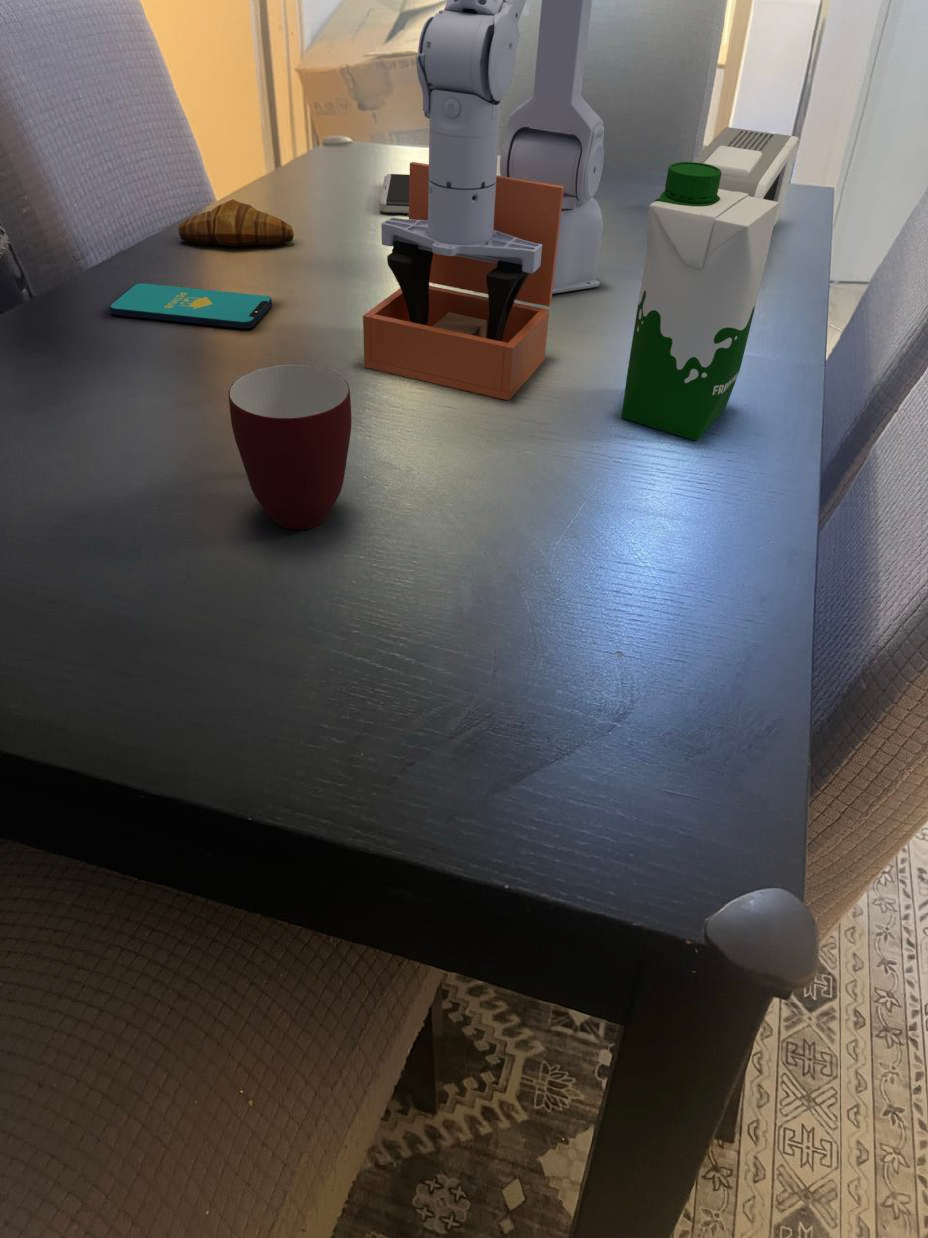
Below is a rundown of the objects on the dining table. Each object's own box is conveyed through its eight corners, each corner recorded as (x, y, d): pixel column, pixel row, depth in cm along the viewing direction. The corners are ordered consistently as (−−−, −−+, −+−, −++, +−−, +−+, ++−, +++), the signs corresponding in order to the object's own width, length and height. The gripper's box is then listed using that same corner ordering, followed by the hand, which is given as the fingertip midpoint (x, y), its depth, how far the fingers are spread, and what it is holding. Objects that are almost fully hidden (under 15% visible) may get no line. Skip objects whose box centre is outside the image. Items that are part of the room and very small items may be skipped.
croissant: (296, 234, 117) (293, 191, 114) (292, 253, 112) (289, 209, 108) (184, 232, 116) (178, 189, 113) (175, 251, 111) (168, 206, 107)
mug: (251, 469, 74) (237, 348, 68) (355, 468, 75) (350, 348, 69) (238, 548, 66) (221, 419, 60) (355, 546, 67) (349, 418, 61)
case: (508, 400, 85) (512, 347, 82) (364, 367, 89) (362, 315, 86) (544, 359, 92) (549, 309, 89) (408, 330, 96) (408, 280, 93)
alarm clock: (741, 290, 108) (766, 179, 101) (661, 275, 111) (680, 166, 103) (779, 223, 128) (802, 125, 120) (710, 211, 130) (729, 116, 123)
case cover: (562, 187, 82) (564, 185, 82) (409, 162, 86) (412, 161, 86) (549, 306, 88) (551, 304, 89) (407, 278, 92) (410, 276, 93)
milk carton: (646, 382, 89) (687, 151, 76) (739, 410, 86) (798, 172, 73) (606, 419, 83) (643, 175, 70) (704, 449, 80) (761, 199, 67)
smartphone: (137, 280, 101) (273, 294, 99) (138, 288, 101) (274, 302, 100) (106, 307, 95) (250, 322, 94) (108, 315, 96) (251, 330, 94)
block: (465, 370, 88) (466, 339, 86) (425, 361, 89) (426, 330, 87) (485, 350, 91) (487, 319, 89) (447, 341, 92) (448, 311, 90)
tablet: (585, 223, 124) (587, 209, 123) (378, 215, 124) (378, 201, 123) (575, 192, 135) (577, 179, 134) (384, 185, 134) (384, 171, 133)
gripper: (363, 178, 79) (367, 334, 88) (526, 206, 75) (514, 367, 84) (401, 158, 84) (401, 308, 93) (555, 183, 80) (541, 337, 89)
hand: (456, 334), depth 89 cm, fingers open, 7 cm apart
